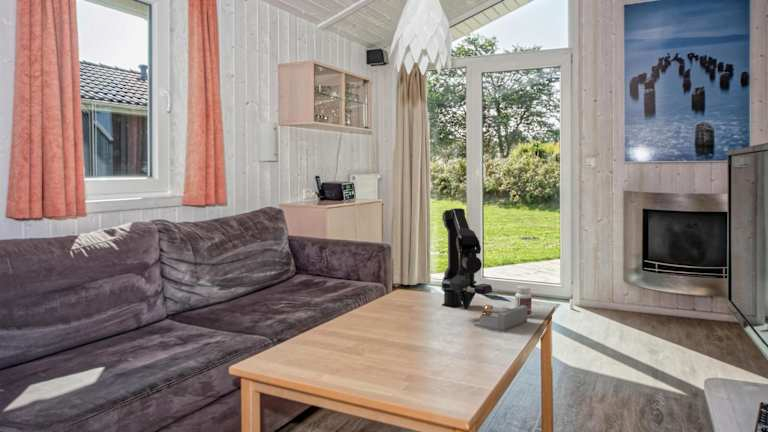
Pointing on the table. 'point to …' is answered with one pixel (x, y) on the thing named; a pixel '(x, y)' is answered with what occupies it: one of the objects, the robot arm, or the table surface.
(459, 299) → the robot arm
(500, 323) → the mount
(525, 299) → the pill bottle
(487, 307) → the knob far
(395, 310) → the table surface
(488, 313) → the knob near
